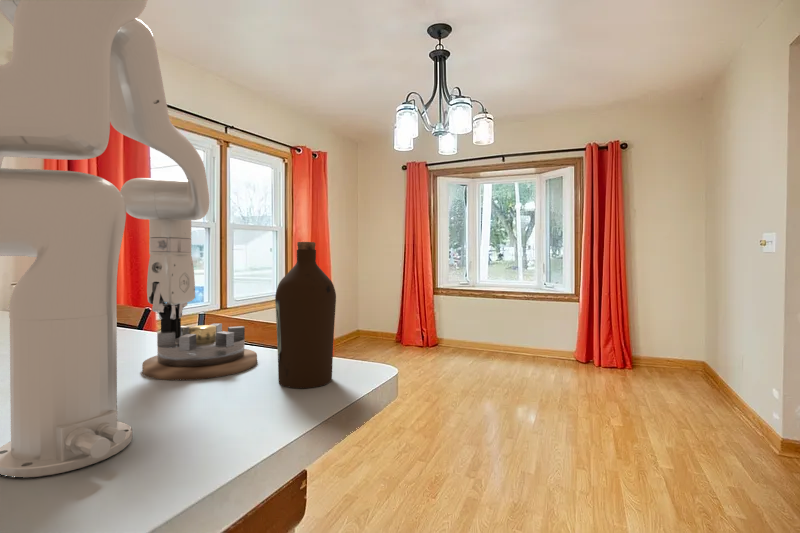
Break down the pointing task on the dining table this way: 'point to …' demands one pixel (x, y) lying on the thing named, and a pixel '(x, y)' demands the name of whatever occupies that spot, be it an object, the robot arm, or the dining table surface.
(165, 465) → the dining table surface
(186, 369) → the board
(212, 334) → the crenellated turret ring
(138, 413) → the dining table surface
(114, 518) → the dining table surface
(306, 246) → the olive oil
